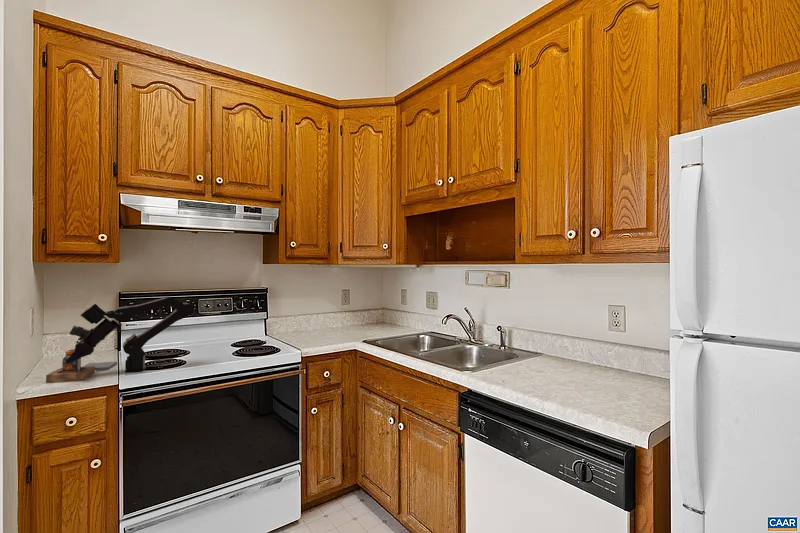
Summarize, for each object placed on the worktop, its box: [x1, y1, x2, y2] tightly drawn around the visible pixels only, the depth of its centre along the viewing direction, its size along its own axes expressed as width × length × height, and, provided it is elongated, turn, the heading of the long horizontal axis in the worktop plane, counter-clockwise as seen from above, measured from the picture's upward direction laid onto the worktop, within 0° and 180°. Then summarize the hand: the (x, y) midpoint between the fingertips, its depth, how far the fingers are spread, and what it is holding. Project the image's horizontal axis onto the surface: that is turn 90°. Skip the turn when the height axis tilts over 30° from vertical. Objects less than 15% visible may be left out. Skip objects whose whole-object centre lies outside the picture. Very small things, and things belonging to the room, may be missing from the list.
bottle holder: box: [45, 366, 96, 384], centre depth 167 cm, size 12×12×3 cm
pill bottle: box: [61, 348, 82, 373], centre depth 167 cm, size 6×6×11 cm
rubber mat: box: [82, 361, 118, 371], centre depth 184 cm, size 11×11×1 cm
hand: (67, 360), depth 167 cm, fingers closed on pill bottle, 6 cm apart
